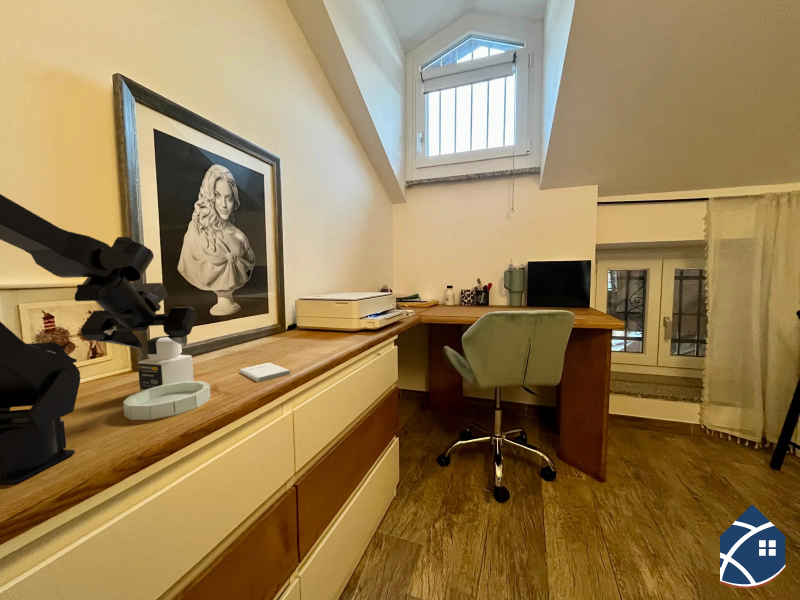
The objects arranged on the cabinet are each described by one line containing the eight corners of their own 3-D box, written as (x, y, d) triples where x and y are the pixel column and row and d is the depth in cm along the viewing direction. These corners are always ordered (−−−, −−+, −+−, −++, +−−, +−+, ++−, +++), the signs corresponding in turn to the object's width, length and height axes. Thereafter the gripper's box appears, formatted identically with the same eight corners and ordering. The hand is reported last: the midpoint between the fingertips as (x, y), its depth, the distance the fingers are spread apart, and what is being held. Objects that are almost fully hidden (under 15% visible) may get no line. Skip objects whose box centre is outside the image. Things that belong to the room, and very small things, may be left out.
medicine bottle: (139, 393, 66) (134, 339, 65) (172, 382, 72) (168, 333, 72) (162, 396, 64) (158, 340, 63) (194, 384, 70) (191, 334, 70)
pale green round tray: (176, 419, 52) (175, 405, 52) (105, 420, 52) (103, 406, 52) (223, 391, 65) (222, 380, 65) (165, 392, 65) (164, 381, 65)
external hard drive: (257, 384, 71) (239, 374, 80) (290, 375, 77) (270, 367, 86) (257, 377, 71) (239, 368, 80) (290, 369, 77) (270, 361, 85)
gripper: (189, 268, 62) (218, 315, 73) (87, 270, 59) (133, 318, 71) (169, 309, 55) (204, 354, 66) (51, 314, 52) (109, 359, 64)
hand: (163, 345), depth 67 cm, fingers open, 9 cm apart
